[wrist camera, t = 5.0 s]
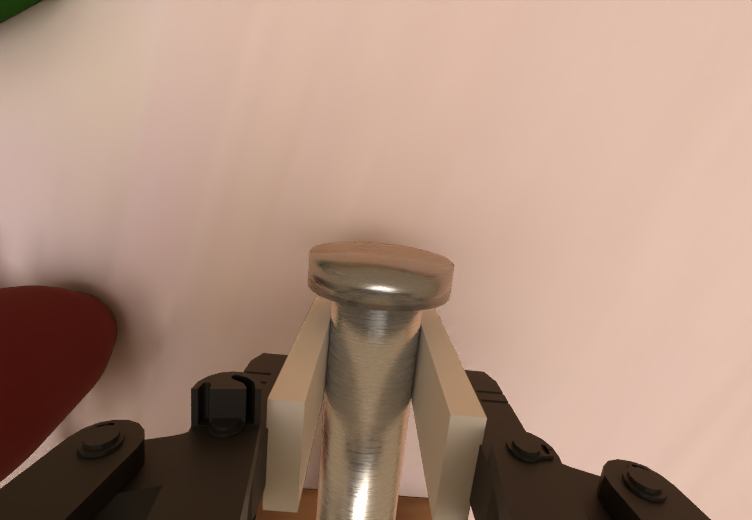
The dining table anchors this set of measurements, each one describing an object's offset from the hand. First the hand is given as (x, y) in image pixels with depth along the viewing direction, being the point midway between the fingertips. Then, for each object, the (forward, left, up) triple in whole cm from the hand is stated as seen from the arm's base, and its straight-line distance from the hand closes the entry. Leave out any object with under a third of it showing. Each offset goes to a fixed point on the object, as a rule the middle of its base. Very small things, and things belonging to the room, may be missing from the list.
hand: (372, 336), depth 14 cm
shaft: (0, -10, -1) cm, 10 cm away
